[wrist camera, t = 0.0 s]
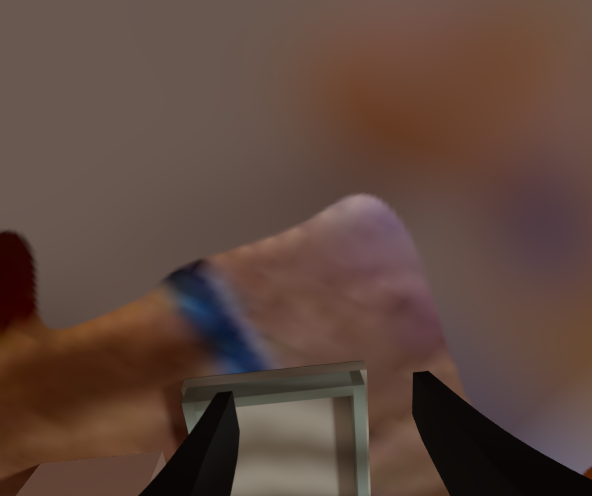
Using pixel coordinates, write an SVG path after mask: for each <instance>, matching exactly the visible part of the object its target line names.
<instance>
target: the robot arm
mask: <svg viewBox="0 0 592 496" xmlns="http://www.w3.org/2000/svg"><path fill="white" fill-rule="evenodd" d="M412 415H413V417H414V420H415V423H416V425H417V428H418V431H419V433H420V436H421V438H422V441H423V443H424V445H425V447H426V449H427V451H428V453H429V455H430V457H431V459H432V461H433V463H434V465H435V467H436V469H437V471H438V473H439V475H440V476H441V478H442V480H443V482H444V484H445V486H446V488H447V490H448V492H449V494H450V496H592V480H591V479H589V478H587V477H585V476H583V475H581V474H579V473H577V472H575V471H573V470H571V469H569V468H567V467H566V466H564V465H562V464H560V463H558V462H557V461H555V460H553V459H551V458H549V457H547V456H546V455H544V454H542V453H540V452H539V451H537V450H535V449H534V448H532V447H530V446H529V445H527V444H525V443H524V442H522V441H521V440H519V439H517V438H516V437H514V436H513V435H511V434H510V433H508V432H507V431H505V430H504V429H502V428H500V427H499V426H498V425H496V424H495V423H494V422H492V421H491V420H489V419H488V418H487V417H485V416H484V415H482V414H481V413H480V412H478V411H477V410H476V409H474V408H473V407H472V406H471V405H469V404H468V403H467V402H465V401H464V400H463V399H462V398H460V397H459V396H458V395H457V394H456V393H454V392H453V391H452V390H451V389H449V388H448V387H447V386H446V385H445V384H443V383H442V382H441V381H440V380H439V379H437V378H436V377H435V376H434V375H433V374H431V373H430V372H429V371H423V372H413V400H412ZM239 437H240V429H239V423H238V418H237V413H236V407H235V402H234V396H233V391H227V392H217V393H216V394H215V396H214V397H213V399H212V401H211V402H210V404H209V405H208V407H207V408H206V410H205V412H204V413H203V415H202V416H201V418H200V419H199V421H198V422H197V424H196V425H195V426H194V428H193V429H192V431H191V432H190V434H189V435H188V436H187V438H186V439H185V441H184V442H183V443H182V445H181V446H180V447H179V448H178V450H177V451H176V452H175V454H174V455H173V456H172V458H171V459H170V460H169V461H168V463H167V464H166V465H165V466H164V467H163V469H162V470H161V471H160V472H159V473H158V475H157V476H156V477H155V478H154V479H153V480H152V481H151V482H150V484H149V485H148V486H147V487H146V488H145V489H144V490H143V491H142V492H141V493H140V494H139V495H138V496H231V491H232V486H233V481H234V476H235V470H236V465H237V460H238V449H239Z"/></svg>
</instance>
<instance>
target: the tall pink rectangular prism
mask: <svg viewBox="0 0 592 496" xmlns="http://www.w3.org/2000/svg"><path fill="white" fill-rule="evenodd" d="M165 465H166V463H165V459H164V456H163V452H162V451H160V452H151V453H141V454H131V455H122V456H112V457H102V458H93V459H83V460H74V461H64V462H54V463H45V464H40V465H39V466H38V467H37V469H36V470H35V471H34V473H33V474H32V475H31V476H30V478H29V479H28V480H27V482H26V483H25V484H24V486H23V487H22V488H21V489H20V491H19V492H18V493H17V495H16V496H138V495H139V494H140V493H141V492H142V491H143V490H144V489H145V488H146V487H147V486H148V485H149V484H150V482H151V481H152V480H153V479H154V478H155V477H156V476H157V475H158V473H159V472H160V471H161V470H162V469H163V467H164V466H165Z"/></svg>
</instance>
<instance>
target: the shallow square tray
mask: <svg viewBox="0 0 592 496" xmlns="http://www.w3.org/2000/svg"><path fill="white" fill-rule="evenodd" d="M227 391H233V396H234V402H235V407H236V413H237V418H238V423H239V429H240V437H239V449H238V460H237V465H236V470H235V476H234V481H233V486H232V491H231V496H371V492H370V460H369V429H368V397H367V369H366V366H365V364H364V361H356V362H346V363H337V364H327V365H317V366H307V367H298V368H288V369H278V370H268V371H258V372H249V373H239V374H229V375H219V376H209V377H200V378H190V379H185V380H184V382H183V384H182V387H181V392H182V396H183V400H182V403H181V404H182V408H183V412H184V416H185V420H186V425H187V429H188V433H189V434H190V432H191V431H192V429H193V428H194V426H195V425H196V424H197V422H198V421H199V419H200V418H201V416H202V415H203V413H204V412H205V410H206V408H207V407H208V405H209V404H210V402H211V401H212V399H213V397H214V396H215V394H216V393H217V392H227Z"/></svg>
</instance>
